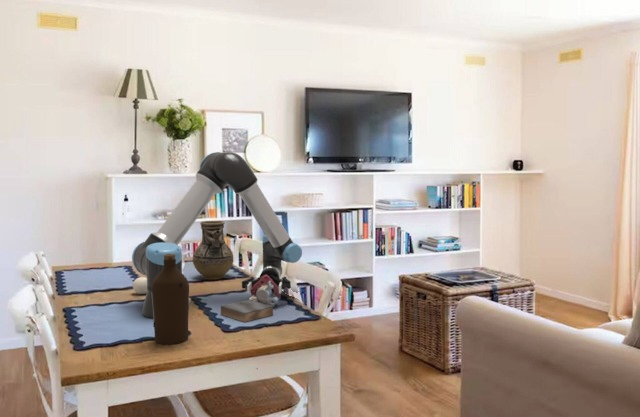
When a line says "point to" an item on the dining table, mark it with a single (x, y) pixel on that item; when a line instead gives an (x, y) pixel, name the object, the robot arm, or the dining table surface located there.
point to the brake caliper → (265, 292)
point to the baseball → (140, 285)
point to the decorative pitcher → (212, 252)
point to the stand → (246, 310)
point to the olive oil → (170, 303)
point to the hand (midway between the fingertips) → (264, 289)
